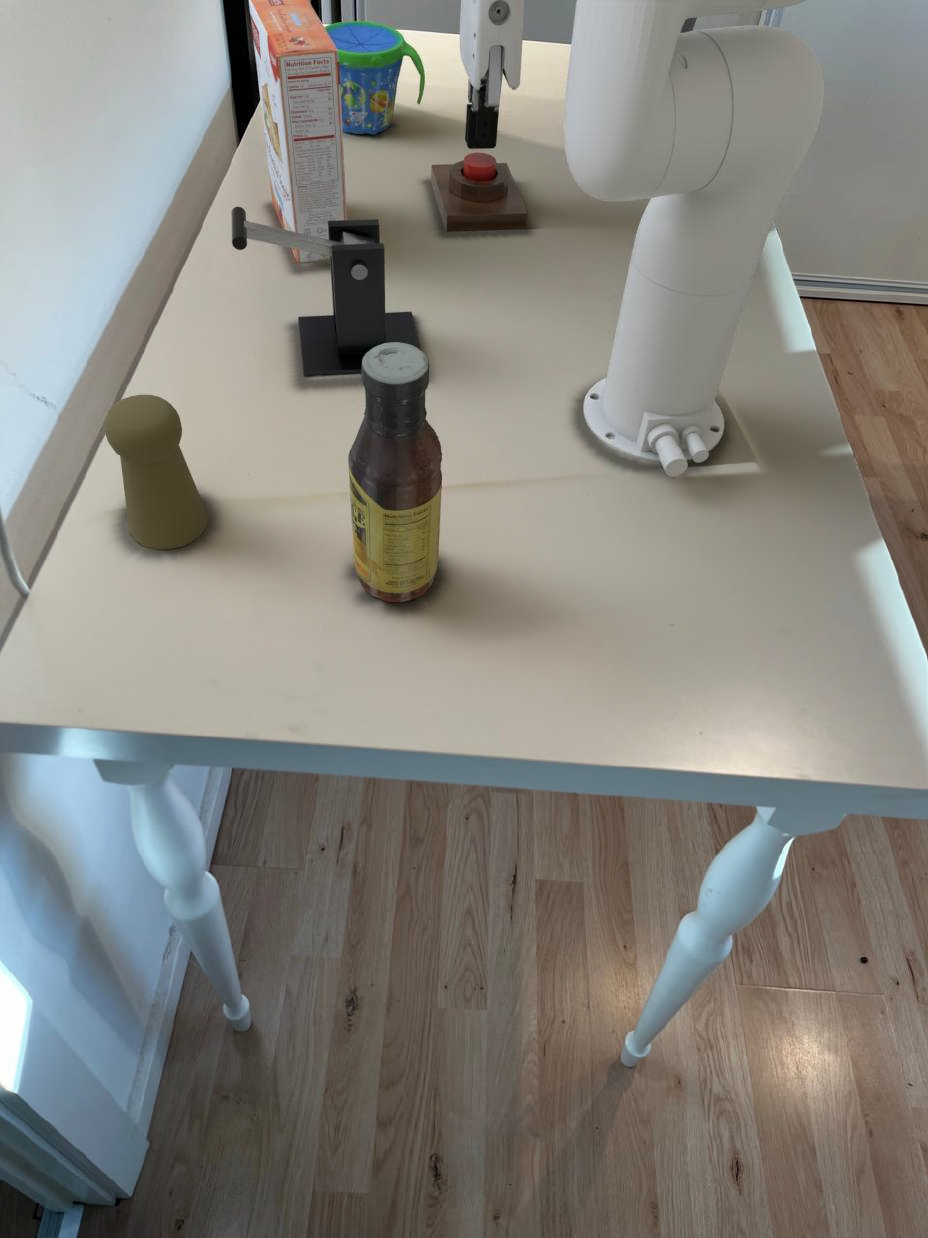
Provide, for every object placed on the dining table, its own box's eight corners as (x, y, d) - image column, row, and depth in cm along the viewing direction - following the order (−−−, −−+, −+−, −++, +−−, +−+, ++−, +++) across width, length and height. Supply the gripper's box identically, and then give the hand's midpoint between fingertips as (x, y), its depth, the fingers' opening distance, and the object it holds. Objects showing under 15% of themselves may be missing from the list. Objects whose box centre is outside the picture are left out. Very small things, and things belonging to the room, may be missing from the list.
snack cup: (431, 115, 123) (433, 28, 115) (412, 151, 116) (413, 61, 109) (316, 99, 125) (311, 12, 117) (291, 133, 118) (283, 43, 110)
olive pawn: (207, 492, 76) (183, 379, 68) (207, 546, 72) (182, 433, 64) (130, 498, 75) (96, 384, 67) (126, 552, 72) (89, 439, 63)
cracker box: (269, 206, 106) (245, -7, 90) (321, 201, 107) (308, -10, 91) (294, 272, 98) (273, 50, 81) (351, 265, 99) (341, 45, 83)
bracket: (304, 384, 86) (293, 264, 77) (299, 328, 91) (287, 210, 82) (424, 377, 87) (426, 259, 78) (411, 322, 93) (412, 206, 84)
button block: (525, 232, 105) (529, 197, 102) (446, 234, 104) (447, 199, 101) (505, 180, 113) (508, 146, 110) (431, 182, 111) (431, 148, 108)
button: (497, 182, 105) (499, 166, 103) (465, 183, 104) (466, 167, 103) (491, 167, 107) (493, 151, 106) (460, 168, 106) (461, 152, 105)
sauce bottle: (362, 543, 73) (353, 318, 58) (442, 551, 73) (453, 329, 58) (347, 606, 69) (332, 382, 54) (431, 616, 69) (441, 394, 54)
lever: (229, 255, 77) (234, 228, 76) (229, 224, 80) (233, 197, 79) (371, 285, 81) (378, 260, 80) (365, 254, 85) (372, 230, 83)
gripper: (549, -25, 85) (527, 177, 99) (516, -78, 94) (501, 114, 108) (467, -26, 84) (457, 178, 98) (442, -79, 93) (436, 115, 107)
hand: (480, 144), depth 103 cm, fingers closed
